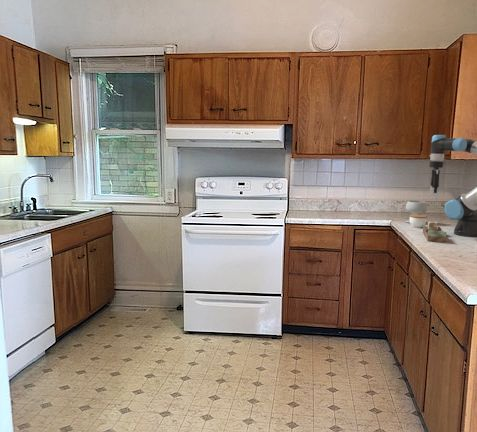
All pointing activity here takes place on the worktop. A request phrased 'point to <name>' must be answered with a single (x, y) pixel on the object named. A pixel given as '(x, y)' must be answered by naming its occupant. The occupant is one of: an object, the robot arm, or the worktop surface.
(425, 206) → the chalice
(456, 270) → the worktop surface
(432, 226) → the birch block
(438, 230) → the two-trap track
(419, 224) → the lidded jar
